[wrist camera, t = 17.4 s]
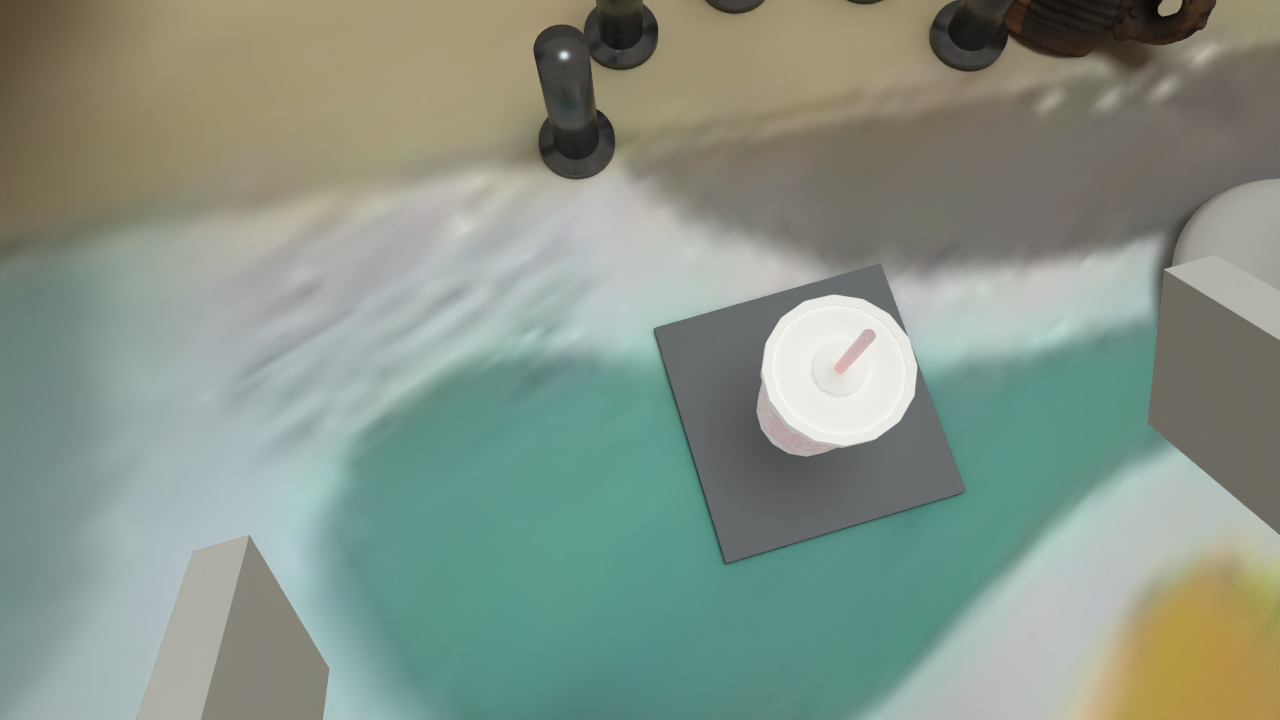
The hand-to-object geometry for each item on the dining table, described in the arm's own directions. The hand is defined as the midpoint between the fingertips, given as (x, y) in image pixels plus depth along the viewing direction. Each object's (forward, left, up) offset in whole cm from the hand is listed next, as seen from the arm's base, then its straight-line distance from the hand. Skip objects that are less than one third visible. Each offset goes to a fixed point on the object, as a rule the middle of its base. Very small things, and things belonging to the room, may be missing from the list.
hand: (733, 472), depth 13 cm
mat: (+8, +5, -32) cm, 33 cm away
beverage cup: (+8, +5, -31) cm, 33 cm away
